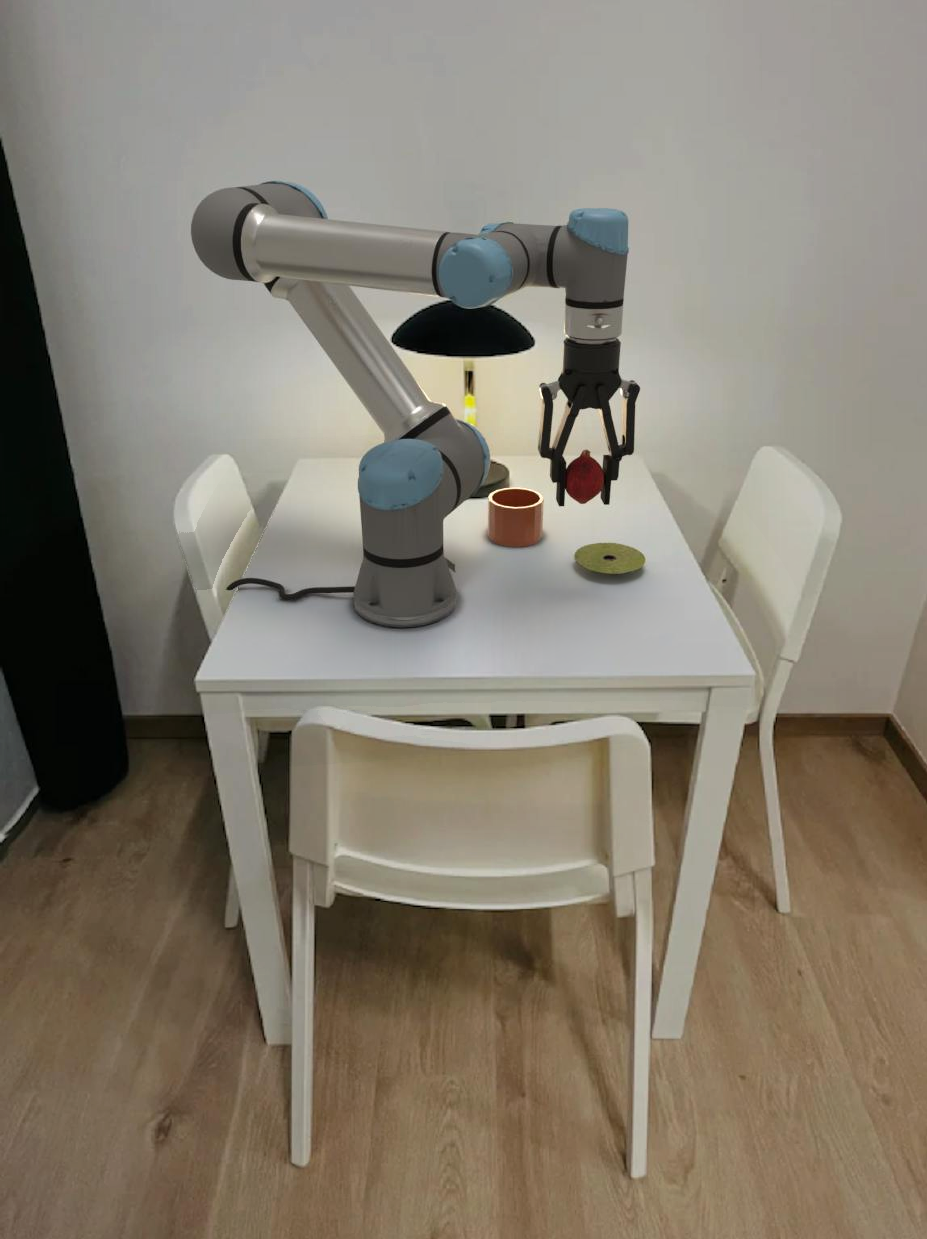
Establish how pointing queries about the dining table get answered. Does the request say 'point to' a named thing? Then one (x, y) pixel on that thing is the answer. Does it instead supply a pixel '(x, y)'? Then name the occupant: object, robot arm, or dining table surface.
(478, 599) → the dining table surface
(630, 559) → the mat
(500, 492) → the flower pot
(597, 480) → the onion
